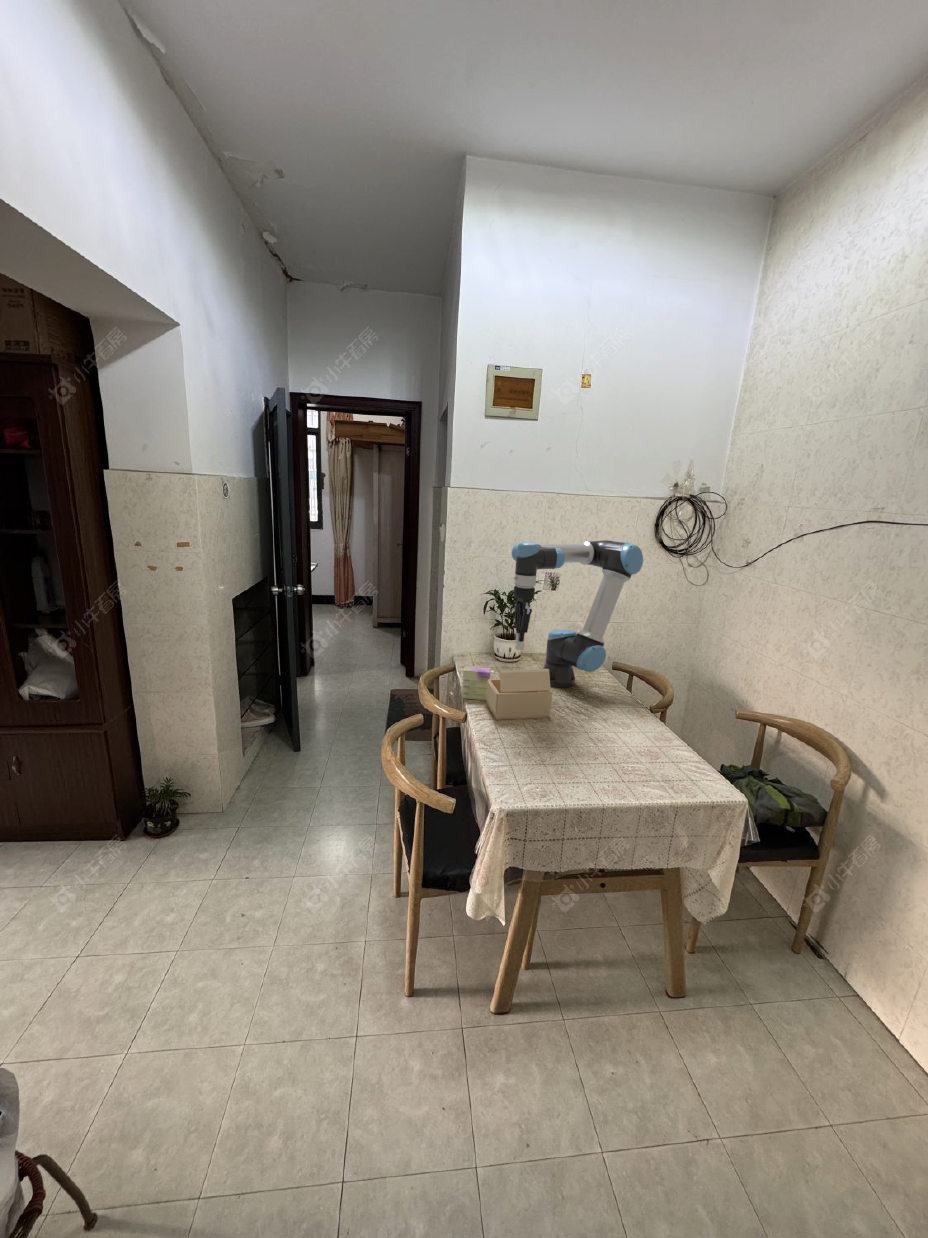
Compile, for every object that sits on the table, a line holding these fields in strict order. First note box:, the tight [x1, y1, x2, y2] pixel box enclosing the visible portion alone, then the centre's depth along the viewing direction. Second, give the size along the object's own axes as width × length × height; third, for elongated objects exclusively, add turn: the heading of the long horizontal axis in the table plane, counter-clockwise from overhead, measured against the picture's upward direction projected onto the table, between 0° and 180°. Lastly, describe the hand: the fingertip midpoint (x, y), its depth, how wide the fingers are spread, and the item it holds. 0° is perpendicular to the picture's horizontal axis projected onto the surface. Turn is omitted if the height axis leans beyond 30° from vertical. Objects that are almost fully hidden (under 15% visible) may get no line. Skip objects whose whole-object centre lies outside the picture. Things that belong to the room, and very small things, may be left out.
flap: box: [499, 668, 552, 692], centre depth 179 cm, size 19×8×1 cm
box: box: [461, 665, 491, 702], centre depth 197 cm, size 10×6×12 cm, turn 84°
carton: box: [486, 678, 553, 721], centre depth 187 cm, size 21×14×10 cm
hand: (519, 648), depth 185 cm, fingers closed
